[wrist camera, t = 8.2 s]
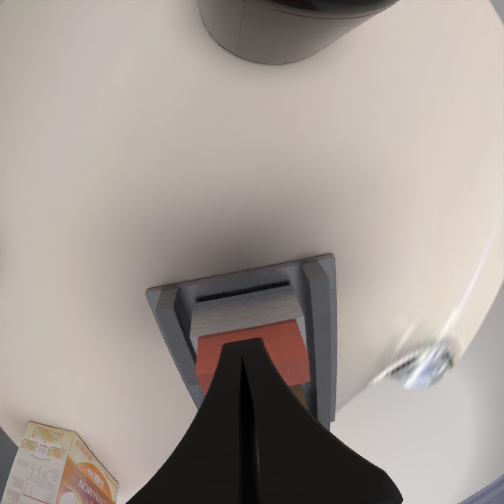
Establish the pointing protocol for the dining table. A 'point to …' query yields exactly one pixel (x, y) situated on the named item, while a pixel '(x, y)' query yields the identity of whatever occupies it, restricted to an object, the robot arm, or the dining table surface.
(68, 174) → the dining table surface
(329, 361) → the grey tray
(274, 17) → the supplement bottle
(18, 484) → the coffeecake box
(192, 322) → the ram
